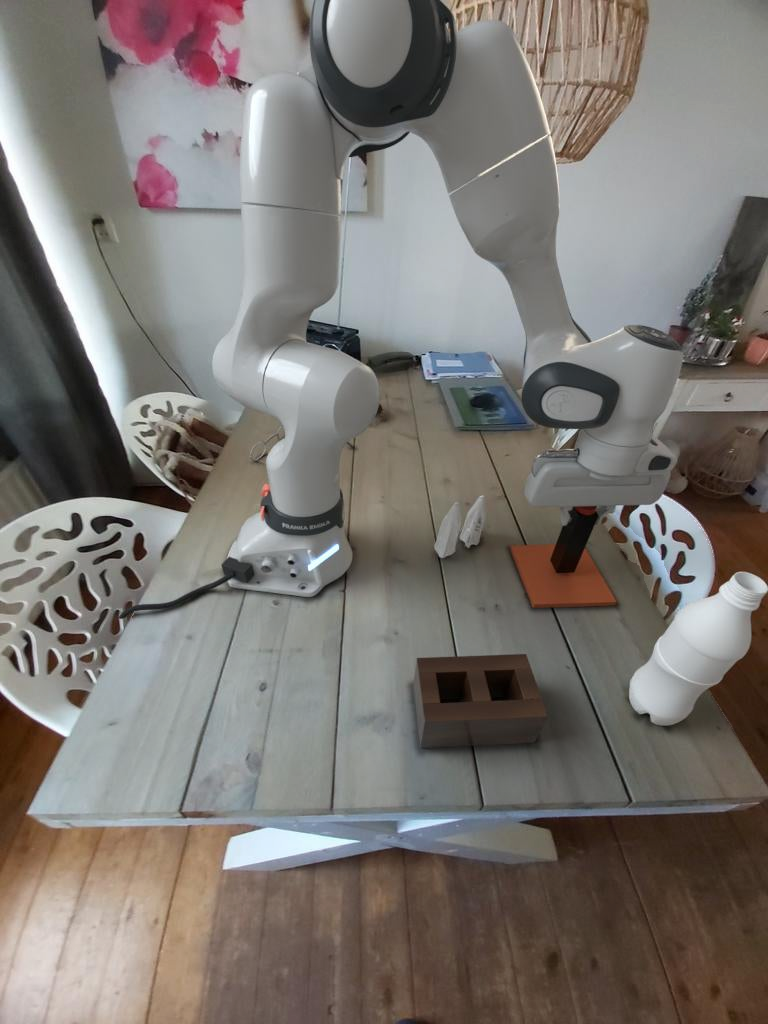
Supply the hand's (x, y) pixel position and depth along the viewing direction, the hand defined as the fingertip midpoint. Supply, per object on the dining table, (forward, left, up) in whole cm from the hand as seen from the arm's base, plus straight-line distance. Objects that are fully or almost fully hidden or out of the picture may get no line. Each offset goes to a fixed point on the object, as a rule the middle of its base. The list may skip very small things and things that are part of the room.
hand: (579, 522), depth 71 cm
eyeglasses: (-49, +41, -12) cm, 65 cm away
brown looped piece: (-33, +61, -12) cm, 70 cm away
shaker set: (-17, +8, -12) cm, 22 cm away
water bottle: (+4, -24, -12) cm, 27 cm away
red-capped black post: (0, 0, -10) cm, 10 cm away
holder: (-21, -24, -12) cm, 34 cm away
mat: (0, 0, -12) cm, 12 cm away
